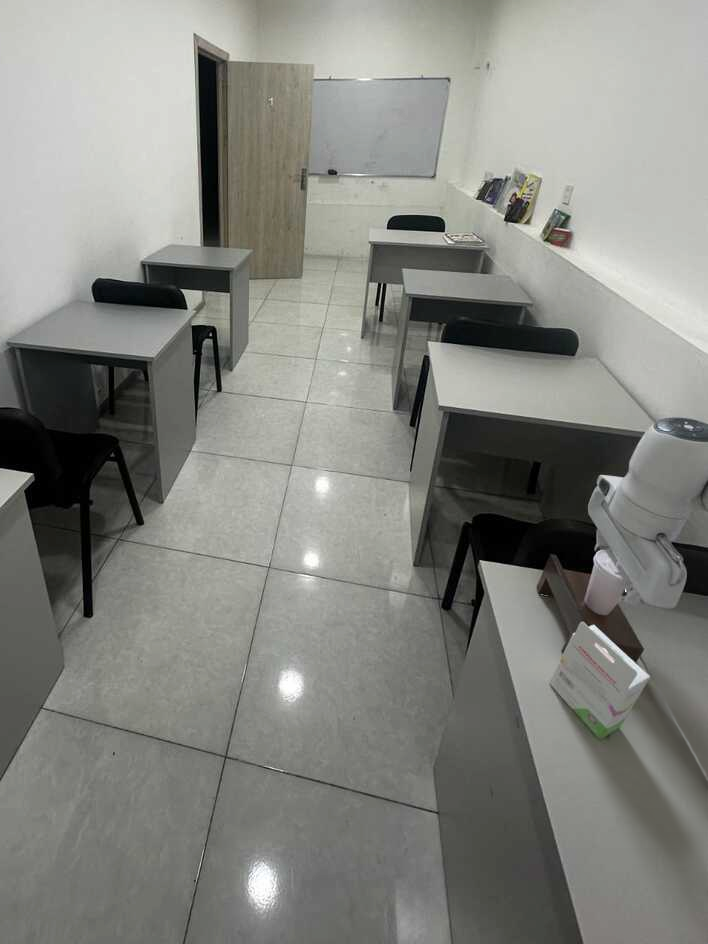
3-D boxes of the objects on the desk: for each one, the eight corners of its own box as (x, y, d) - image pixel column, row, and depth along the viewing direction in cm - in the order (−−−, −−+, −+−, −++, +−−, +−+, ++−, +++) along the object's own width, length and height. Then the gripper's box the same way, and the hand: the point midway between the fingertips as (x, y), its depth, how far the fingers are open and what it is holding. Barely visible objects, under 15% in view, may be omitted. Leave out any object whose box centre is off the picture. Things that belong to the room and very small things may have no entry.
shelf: (591, 599, 91) (608, 564, 87) (629, 673, 78) (652, 636, 75) (535, 588, 92) (550, 553, 89) (564, 659, 80) (583, 622, 76)
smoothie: (571, 603, 83) (600, 543, 77) (581, 582, 87) (609, 524, 81) (614, 630, 79) (648, 568, 73) (622, 606, 83) (655, 547, 77)
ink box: (621, 728, 71) (663, 664, 65) (599, 741, 69) (639, 676, 63) (568, 671, 78) (601, 608, 72) (546, 681, 76) (578, 618, 70)
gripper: (714, 571, 64) (672, 639, 70) (633, 475, 83) (605, 535, 88) (662, 562, 65) (625, 630, 71) (594, 469, 84) (569, 528, 89)
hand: (613, 576), depth 80 cm, fingers open, 8 cm apart
